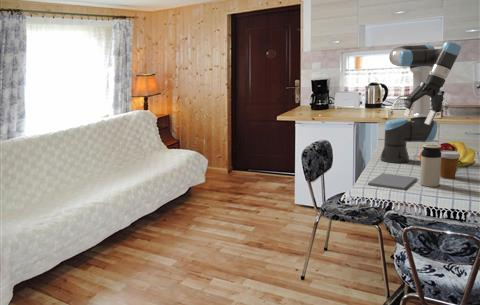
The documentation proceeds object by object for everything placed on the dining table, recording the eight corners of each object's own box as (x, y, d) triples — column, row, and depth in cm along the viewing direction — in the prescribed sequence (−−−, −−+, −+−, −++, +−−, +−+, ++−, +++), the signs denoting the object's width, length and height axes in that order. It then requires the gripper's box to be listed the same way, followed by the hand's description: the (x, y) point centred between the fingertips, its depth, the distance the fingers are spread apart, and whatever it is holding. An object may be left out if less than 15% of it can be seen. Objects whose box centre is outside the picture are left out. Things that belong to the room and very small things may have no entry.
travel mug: (442, 187, 184) (445, 146, 180) (424, 187, 184) (426, 147, 181) (434, 182, 192) (437, 143, 188) (416, 182, 192) (419, 143, 188)
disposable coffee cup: (445, 180, 194) (447, 155, 192) (432, 175, 203) (433, 151, 201) (463, 178, 196) (465, 153, 194) (449, 173, 205) (451, 149, 203)
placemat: (382, 175, 206) (382, 173, 206) (416, 179, 197) (416, 177, 197) (367, 184, 190) (368, 182, 190) (404, 190, 181) (404, 187, 181)
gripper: (424, 68, 181) (402, 114, 185) (462, 86, 191) (441, 129, 196) (412, 66, 187) (391, 110, 192) (450, 83, 197) (429, 124, 202)
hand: (416, 120), depth 194 cm, fingers open, 13 cm apart
